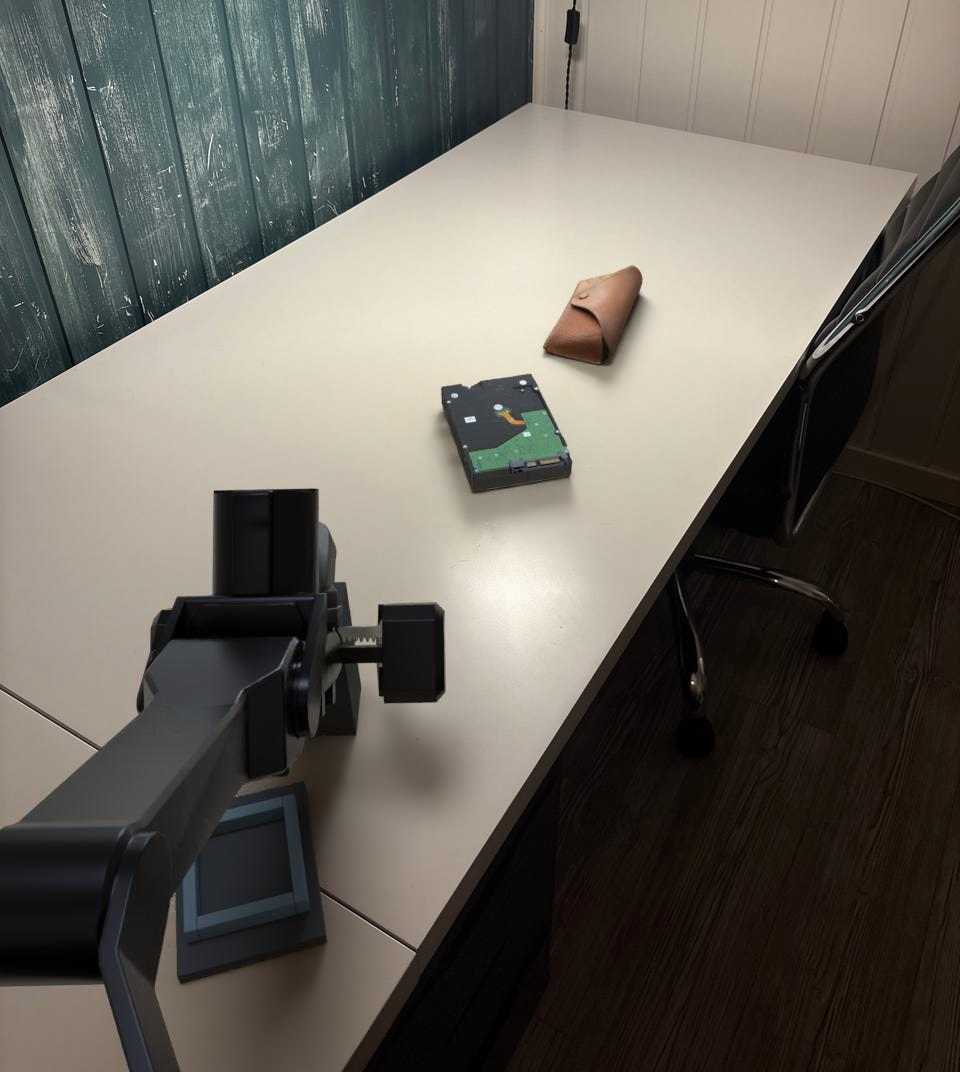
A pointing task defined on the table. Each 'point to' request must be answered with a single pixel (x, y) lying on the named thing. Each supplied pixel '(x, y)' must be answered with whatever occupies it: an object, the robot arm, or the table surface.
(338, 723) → the dark grey square block
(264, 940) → the base pad
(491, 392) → the disk drive
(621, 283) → the sunglasses case
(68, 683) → the table surface
